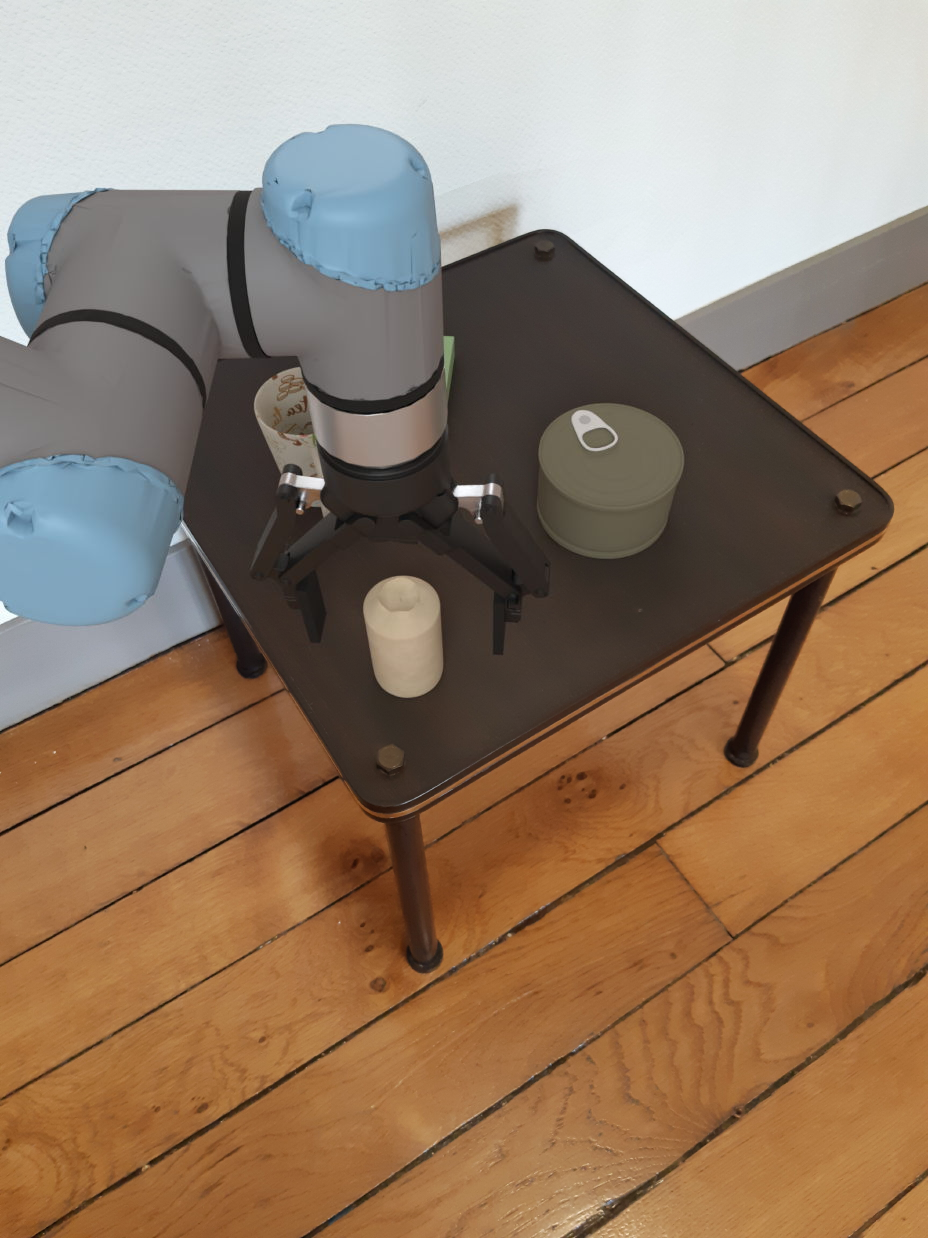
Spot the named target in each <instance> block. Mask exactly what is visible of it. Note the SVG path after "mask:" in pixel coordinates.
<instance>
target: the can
mask: <svg viewBox="0 0 928 1238" xmlns="http://www.w3.org/2000/svg"><path fill="white" fill-rule="evenodd" d="M537 456H538V457H537V458H538V464H539V468H538V483H537V484H538V485H537V497H536V513H537V517H538V519H539V522H540V524H541V526H542V528H543V530H544V531H545V533H547V535H548V536H549V537H550V538H551V539H552V540H553V541H554V542H556V543H557V544H558V545H559V546H561V547H562V548H564V549H566V550H568V551H570V552H572V553H574V554H577V555H580V556H583V557H587V558H592V559H599V560H615V559H623V558H626V557H627V558H628V557H631V556H634V555H637V554H639V553H641V552H643V551H644V550H646V549H648V548H649V547H651V546H652V545H653V544H654V543H656V541H658V539H659V538H660V537H661V535H662V534H663V532H664V530H665V528H666V526H667V524H668V519H669V514H670V511H671V507H672V504H673V500H674V497H675V494H676V493H675V492H676V490H677V485H678V484H679V482H680V480H681V477H682V475H683V473H684V472H683V471H684V467H685V454H684V449H683V446H682V444H681V442H680V439H679V438H678V436H677V435H676V433H675V432H674V431H673V429H672V428H671V427H670V426H669V425H668V424H666V423H665V422H664V421H663V420H661V419H660V418H658V417H657V416H656V415H654V414H652V413H650V412H648V411H646V410H643V409H640V408H638V407H634V406H631V405H627V404H621V403H612V402H611V403H610V402H601V403H591V404H586V405H580V406H578V407H575V408H573V409H570V410H568V411H566V412H564V413H562V414H561V415H559V416H558V417H556V418H555V419H554V420H552V421H551V423H550V424H548V426H547V427H546V429H544V432H543V434H542V435H541V438H540V441H539V444H538V453H537Z"/></svg>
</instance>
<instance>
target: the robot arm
mask: <svg viewBox="0 0 928 1238" xmlns="http://www.w3.org/2000/svg"><path fill="white" fill-rule="evenodd" d="M261 185H262V187H255V188H254V189H253V190H252V189H251V190H249V189H248V190H245V189H244V190H241V189H118V188H114V187H108V188H106V187H95V188H94V189H93V190H87V189H86V190H84V191H79V192H67V193H54V194H43V195H42V194H41V195H38V196H35V197H32V198H30V199H28V200H26V201H25V202H24V203H23V204H21V206H19V207H18V208H17V210H16V211H15V213H14V215H13V216H12V218H11V221H10V224H9V226H8V228H7V233H6V236H7V237H6V238H7V239H6V240H7V244H8V248H9V249H8V250H9V254H8V255H7V256H6V257H5V259H4V271H5V279H6V286H7V291H8V295H9V298H10V303H11V305H12V309H13V311H14V314H15V316H16V320H17V321H18V323H19V325H20V327H21V328H22V331H23V332H24V333H25V335H26V336H27V338H28V339H29V340H28V342H27V345H24V344H22V343H20V342H17V341H15V340H12V339H10V338H8V337H5V336H2V335H0V602H2V604H3V607H4V609H5V610H6V611H7V612H9V613H10V614H13V615H15V616H18V617H21V618H23V619H27V620H30V621H33V622H38V623H42V624H48V625H52V626H53V625H55V626H64V627H90V626H100V625H104V624H105V625H106V624H109V623H114V622H116V621H119V620H121V619H123V618H126V617H128V616H130V615H131V614H133V613H134V612H136V611H137V610H139V609H140V608H141V607H143V606H144V605H145V604H146V602H147V601H148V599H149V598H151V597H152V596H154V595H155V592H156V591H157V588H158V586H159V584H160V581H161V577H162V573H163V570H164V567H165V564H166V561H167V557H168V554H169V550H170V547H171V544H172V541H173V538H174V535H175V534H176V533H177V531H178V530H179V528H180V526H181V524H182V522H183V519H184V503H185V495H186V491H187V487H188V482H189V477H190V474H191V469H192V464H193V461H194V455H195V453H196V452H195V451H196V447H197V442H198V438H199V433H200V429H201V425H202V420H203V416H204V413H205V410H206V407H207V404H208V400H209V396H210V391H211V389H212V384H213V380H214V375H215V371H216V368H217V363H218V360H224V359H226V360H227V359H228V360H229V359H230V360H231V359H271V358H273V357H297V361H298V362H299V367H300V368H301V373H302V378H303V382H304V386H305V391H306V396H307V401H308V406H309V411H310V416H311V421H312V426H313V431H314V435H315V437H316V444H317V449H318V454H319V459H320V464H321V468H322V473H323V478H324V479H321V478H314V477H306V476H303V472H302V469H301V468H300V467H299V466H297V465H295V464H286V465H285V466H284V467H283V471H282V475H280V478H279V482H278V485H277V489H276V493H275V496H274V500H275V507H274V509H273V511H272V513H271V515H270V518H269V520H268V522H267V525H266V526H265V528H264V530H263V533H262V535H261V537H260V539H259V541H258V542H257V545H256V548H255V552H254V555H253V560H252V563H251V565H250V566H251V567H250V570H249V577H250V578H251V579H252V580H255V581H258V582H264V581H266V580H267V579H268V578H270V579H273V580H275V581H277V584H278V586H280V587H281V589H282V592H283V595H284V599H285V601H286V605H287V606H288V607H289V608H290V609H292V610H300V612H301V616H302V619H303V622H304V626H305V629H306V633H307V635H308V639H309V643H311V644H312V643H313V644H321V642H322V637H323V632H324V627H325V622H326V618H327V614H328V613H327V610H326V606H325V601H324V598H323V594H322V590H321V585H320V582H319V578H318V574H317V570H316V569H318V568H319V567H320V566H321V565H322V564H323V563H325V562H326V561H327V560H328V559H329V558H331V557H332V556H333V555H335V554H336V553H337V552H338V551H339V550H342V551H345V550H347V549H348V548H349V547H351V545H353V544H354V543H356V542H357V541H358V540H359V539H360V538H361V537H363V538H364V539H365V538H366V539H367V540H368V542H369V543H386V542H387V543H388V542H394V543H395V542H396V543H399V544H404V545H418V542H420V543H421V544H423V545H424V546H425V547H427V548H428V549H429V550H431V551H432V552H433V553H434V554H436V555H437V556H440V557H443V556H444V555H447V557H449V558H450V559H451V560H453V561H454V562H455V563H456V564H458V565H460V566H461V567H462V568H463V569H465V570H466V571H467V572H469V573H470V574H471V575H472V576H474V577H475V578H476V579H478V580H479V581H480V582H482V583H483V584H484V585H486V586H487V587H488V588H489V589H490V590H492V591H493V600H492V601H493V602H492V655H495V656H504V649H505V638H506V626H507V625H506V624H507V623H513V624H514V623H519V622H520V621H521V619H522V609H523V598H524V597H525V596H527V595H530V594H531V595H532V596H533V597H534V598H537V599H543V598H544V599H545V598H547V597H548V596H549V594H550V586H551V585H550V582H551V565H552V564H551V562H550V560H549V559H548V557H547V556H546V554H545V553H544V551H543V550H542V549H541V547H540V546H539V544H538V543H537V541H536V540H535V538H534V537H533V536H532V534H531V533H530V531H529V530H528V528H527V527H526V526H525V524H524V522H523V521H522V520H521V519H520V517H519V516H518V514H517V513H516V511H515V509H514V508H513V506H512V505H511V504H510V502H509V501H508V500H507V497H506V491H505V484H504V483H505V482H504V479H503V477H502V476H500V475H499V474H497V473H488V474H486V475H485V476H484V477H483V483H482V484H465V485H463V484H462V485H459V483H458V482H457V481H456V480H455V479H454V477H453V475H452V471H451V453H450V449H451V448H450V433H449V431H450V430H449V423H448V415H449V410H448V405H447V392H446V376H445V360H444V336H445V335H444V308H443V306H444V305H443V304H444V303H443V278H442V275H443V273H442V249H441V248H442V247H441V246H442V244H441V243H442V242H441V240H442V239H441V236H440V234H439V230H438V222H437V221H438V219H437V210H436V201H435V191H434V183H433V180H432V174H431V171H430V168H429V166H428V164H427V161H426V160H425V158H424V156H423V154H421V152H420V151H419V150H418V149H417V148H416V147H415V146H414V145H413V144H412V143H411V142H409V140H407V139H405V138H404V137H402V136H400V135H398V134H396V133H395V132H392V131H390V130H387V129H384V128H381V127H378V126H374V125H369V124H361V123H339V124H338V123H337V124H335V123H334V124H330V125H328V126H326V127H325V129H324V130H321V131H318V132H312V131H302V132H300V133H298V134H295V135H294V136H292V137H290V138H288V139H286V140H285V141H284V142H282V143H281V144H280V145H279V146H278V147H276V148H275V150H273V152H272V153H271V154H270V155H269V157H268V158H267V160H266V162H265V163H264V168H263V170H262V175H261ZM316 500H321V502H322V504H323V505H324V507H325V508H327V509H328V510H329V511H330V513H329V514H327V515H326V516H325V517H323V518H321V520H319V521H318V522H317V523H316V524H315V525H313V526H312V527H311V528H310V529H309V530H308V531H307V532H305V534H303V535H302V536H301V537H300V538H299V539H298V540H297V541H296V542H294V543H293V544H290V543H288V542H287V541H288V539H289V537H290V535H291V533H292V531H293V529H294V527H295V524H296V521H297V519H298V518H297V517H298V515H299V516H301V515H304V513H305V511H306V510H308V509H309V508H311V507H312V506H311V504H312V502H314V501H316ZM460 508H461V509H465V510H466V511H468V512H469V513H470V515H471V516H472V518H473V517H474V519H473V521H474V523H475V524H477V525H482V526H483V529H484V531H485V534H486V535H487V536H486V535H485V534H484V533H482V531H480V530H479V529H478V528H476V527H475V526H474V525H473V524H471V522H469V521H468V520H466V518H464V517H463V515H462V512H461V510H460ZM286 542H287V543H286ZM284 546H285V548H284ZM283 548H284V553H282V551H283Z"/></svg>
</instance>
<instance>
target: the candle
mask: <svg viewBox="0 0 928 1238" xmlns="http://www.w3.org/2000/svg"><path fill="white" fill-rule="evenodd" d="M362 606H363V607H362V611H363V618H364V623H365V629H366V634H367V641H368V646H369V647H368V648H369V652H370V658H371V664H372V668H373V674H374V677H375V679H376V681H377V683H378V684H379V686H380V687H381V688H382V689H383V690H384V691H385V692H386V693H389V694H390V695H393V696H395V697H399V698H405V699H409V698H410V699H411V698H417V697H420V696H423V695H425V694H427V693H428V692H430V691H432V690H433V689H434V688H435V687H436V686H437V684H438V683H439V681H440V680H441V678H442V675H443V671H444V649H443V632H442V631H443V630H442V629H443V628H442V616H441V615H442V614H441V601H440V597H439V594H438V593H437V591H436V590H435V589H434V587H433V586H432V585H431V584H430V583H428V582H427V581H425V580H423V579H421V578H419V577H416V576H412V575H411V576H410V575H396V576H391V577H388V578H385V579H383V580H381V581H379V582H377V584H375V585H374V586H373V587H372V588H371V589H369V591H368V592H367V594H366V596H365V598H364V601H363V605H362Z"/></svg>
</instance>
